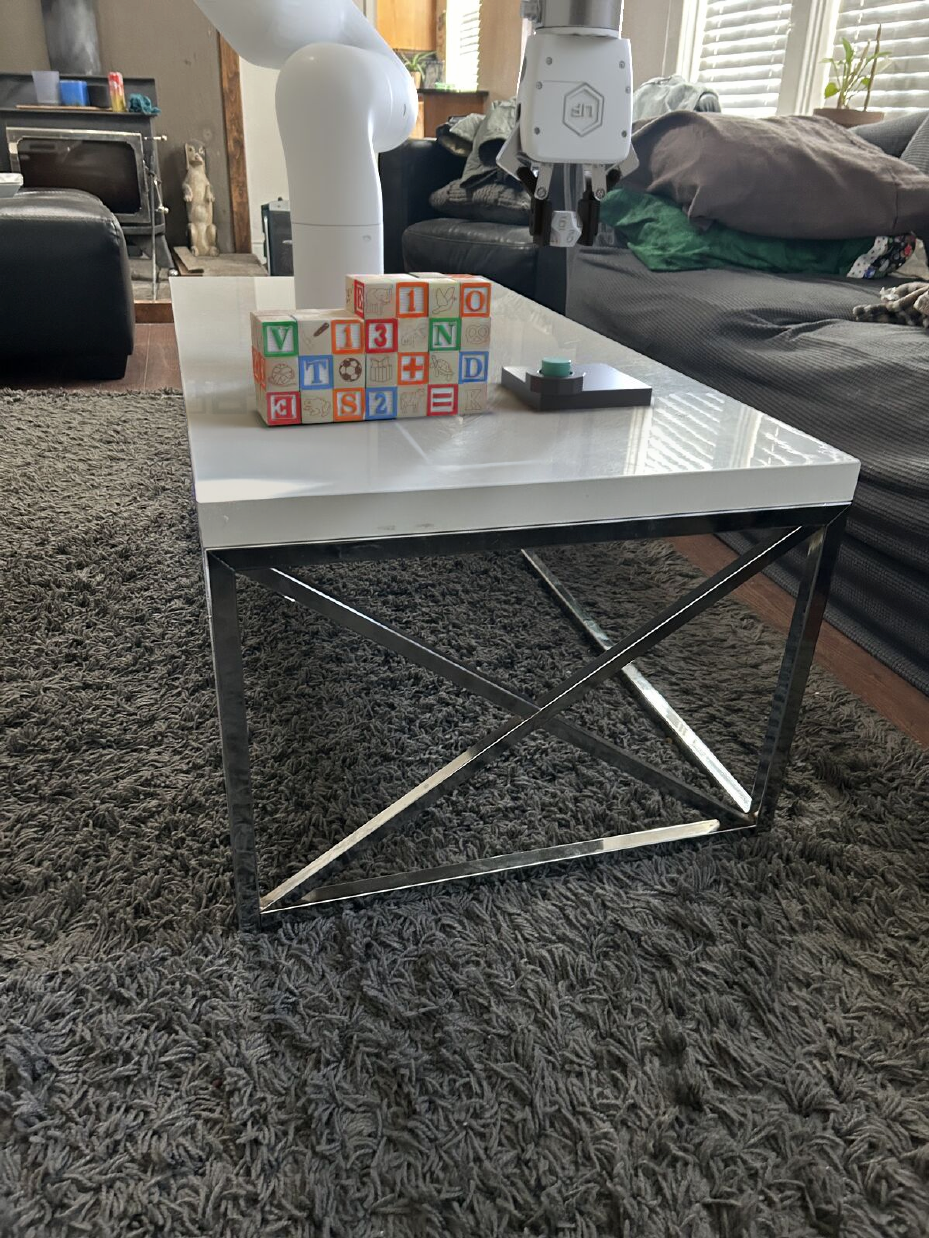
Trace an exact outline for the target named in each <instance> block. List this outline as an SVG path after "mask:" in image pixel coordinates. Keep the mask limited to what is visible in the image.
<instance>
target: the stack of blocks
mask: <svg viewBox="0 0 929 1238" xmlns="http://www.w3.org/2000/svg"><path fill="white" fill-rule="evenodd" d="M345 291H346V307H345V309H318V310H316V309H298V310H296V309H265V310H264V309H263V310H262V309H259V310H250V311H249V316H250V317H249V318H250V319H249V320H250V338H251V359H252V373H253V384H254V395H255V406H256V407H255V408H256V410H257V412H258V413H259V415H260V416H261V418H262V419H263V421H264V423H265V424H266V425H267V426H278V425H292V424H293V425H295V424H316V423H317V424H318V423H321V424H322V423H332V422H352V421H354V422H355V421H365V420H366V421H367V420H369V421H370V420H383V419H385V420H386V419H396V418H399V419H400V418H418V417H435V416H437V417H438V416H454V415H470V414H485V413H487V407H488V406H487V405H488V404H487V401H488V376H489V375H488V374H489V361H490V360H489V357H490V348H491V332H492V317H491V303H492V302H491V301H492V282H491V281H489V280H488V279H487V280H486V279H484V278H482V277H478V276H475V275H472V274H467V273H465V274H463V273H462V274H461V273H460V274H456V273H455V274H452V273H451V274H450V273H449V274H447V273H445V274H442V273H440V272H408V273H384V274H378V275H375V274H359V275H345Z"/></svg>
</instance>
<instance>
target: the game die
mask: <svg viewBox="0 0 929 1238" xmlns="http://www.w3.org/2000/svg"><path fill="white" fill-rule="evenodd" d="M582 228H583V224H582V222H581V220H580V218H579V216H578V214H577V211H571V210H553V211H552V222H551V237H550V244H549V246H552V247H559V248H573V247H575V245H576V244H577V243H576V242H577V240H578V238H579V237H580V235H581V233H582Z"/></svg>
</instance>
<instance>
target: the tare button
mask: <svg viewBox="0 0 929 1238" xmlns="http://www.w3.org/2000/svg"><path fill="white" fill-rule="evenodd" d="M570 364H571V359H569V358H566V357H557V356H549V357H544V358H543V357H542V359H541V366H542V367H541V374H544V375H549V376H568V375H570Z"/></svg>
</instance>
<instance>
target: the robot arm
mask: <svg viewBox="0 0 929 1238" xmlns="http://www.w3.org/2000/svg"><path fill="white" fill-rule="evenodd" d="M192 1H193V2H194V4H195V5H196V6H197V7H198V8H199V10H200V11H201V12H202V14H204V16H205V17H206V18H207V19H208V21H210V23H211V24H212V26H214V28H215V29H216V30H217V31H218V32H219V34H220V35H221V36H222V38H223V39H224V40H225V41H226V43H227V44H228V45H229V46H230V47H231V48H232V50H233V51H234V52H235V53H236V54H237V55H238V56H239V57H240V58H242V59H243V60H245V62H247V63H249V64H251V65H254V66H257V67H261V68H266V69H272V70H278V71H279V73H278V76H277V79H276V84H275V90H274V91H275V92H274V105H275V106H274V107H275V108H274V109H275V116H276V121H277V126H278V132H279V137H280V141H281V145H282V149H283V155H284V160H285V168H286V176H287V186H288V198H289V199H288V200H289V217H290V225H291V228H290V229H291V245H292V246H291V247H292V265H293V285H294V303H295V310H298V309H316V310H318V309H345V307H346V291H345V275H359V274H375V275H378V274H385V272H384V271H385V269H384V221H383V220H384V219H383V216H384V215H383V214H384V213H383V210H384V209H383V195H382V187H381V186H382V185H381V180H380V175H379V170H378V165H377V162H376V157H375V154H378V153H379V154H380V153H385V152H390V151H392V150H394V149H396V148H398V147H399V146H401V145H402V144H403V143H404V142H406V141H407V140H408V138H409V137H410V135H412V132H413V130H414V128H415V126H416V123H417V119H418V115H419V114H418V113H419V99H418V93H417V89H416V86H415V82H414V80H413V77H412V76H411V73H410V72H409V70H408V68H407V67H406V65H405V64H404V62H402V60H401V59H400V58H399V56H398V55H397V54H396V52H395V51H394V50H393V49H392V47H391V46H390V45H389V44H388V42H386V40H385V39H384V38H383V37H382V35H381V34H380V33H379V32H378V31H377V29H376V28H375V27H374V26H373V25H372V24H371V22H370V21H369V19H368V18H367V17H366V15H365V14H364V13H363V12H362V11H361V10H360V9H359V8H358V6H357V5H356V4H355V3H354V1H353V0H192ZM519 5H520V6H519V17H520V19H528V21H530V22H531V25H532V30H534V33H533V34H530V35H528V36H527V38H526V41H525V45H524V51H523V55H522V59H521V65H520V72H519V76H518V83H517V90H516V97H515V106H514V116H513V128H512V129H511V131H510V133H509V135H508V136H507V138H506V140H505V141H504V143H503V145H502V147H501V148H500V150H499V152H498V153H497V155H496V157H495V163H496V164H497V165H498V167H500V168H501V169H503V170H504V172H506V173H508V174H509V175H511V176H512V177H513V178H514V179H515V180H516V181H517V183H518V184H519V185H520V186H521V188H522V189H523V190H524V192H526V195H527V197H529V198H530V206H529V222H528V223H529V226H528V233H529V236H531V237H532V243H533V244H534V245H537V246H540V247H548V246H550V237H551V222H552V213H553V207H554V206H553V201H552V199H549V198H550V197H549V195H550V194H549V190H550V184H551V180H552V174H553V170H554V165H555V164H556V163H557V164H559V163H560V164H581V167H582V168H581V169H582V179H583V180H582V183H583V192H582V198H579V200H578V201H577V208H576V212H577V214H578V216H579V218H580V220H581V222H582V224H583V228H582V233H581V235H580V237H579V238H578V240H577V242H576V243H575V244H577V245H580V246H583V247H594V241H595V237H597V236H598V233H599V226H600V215H601V214H600V213H601V202H602V201H603V200H605V199H606V197H607V194H608V193H610V191H611V190H612V189H613V188H614V187H615V186H616V185H617V184H618V182H620V180H621V179H623V178H625V177H627V176H628V175H630V174H631V173H633V172H634V171H635V170H637V169H638V168H639V167H640V160H639V158H638V155H637V153H636V150H635V148H634V145H633V143H632V140H631V139H632V125H633V66H632V51H631V50H632V49H631V43H630V39H629V38H623V37H621V36H622V35H621V33H622V32H621V31H622V22H623V9H624V0H521V2H520V4H519ZM519 159H521V160H524V161H530V162H531V165H530V167H528V166H526V165H525V164H524V163H522V162H521V160H519ZM611 164H612V166H610V167H608V168H606V165H611Z"/></svg>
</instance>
